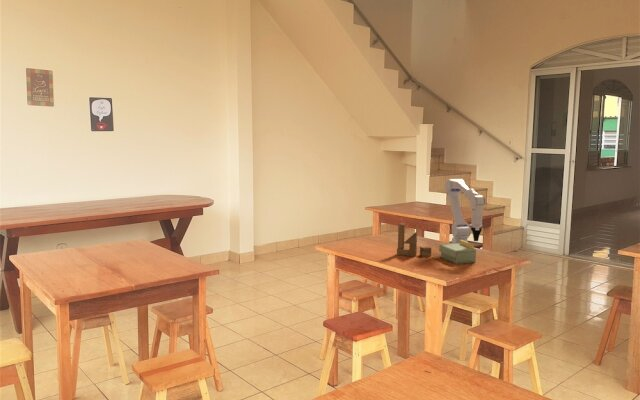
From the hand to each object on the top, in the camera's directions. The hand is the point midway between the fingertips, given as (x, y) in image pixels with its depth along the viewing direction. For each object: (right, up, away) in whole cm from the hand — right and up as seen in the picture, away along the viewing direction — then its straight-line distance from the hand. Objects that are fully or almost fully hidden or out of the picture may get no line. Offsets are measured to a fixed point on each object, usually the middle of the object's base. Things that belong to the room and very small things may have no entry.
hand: (475, 240), depth 297 cm
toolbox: (-11, -10, -2) cm, 15 cm away
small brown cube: (-27, -9, +7) cm, 29 cm away
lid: (-11, -7, -3) cm, 13 cm away
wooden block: (-38, -9, +7) cm, 39 cm away
